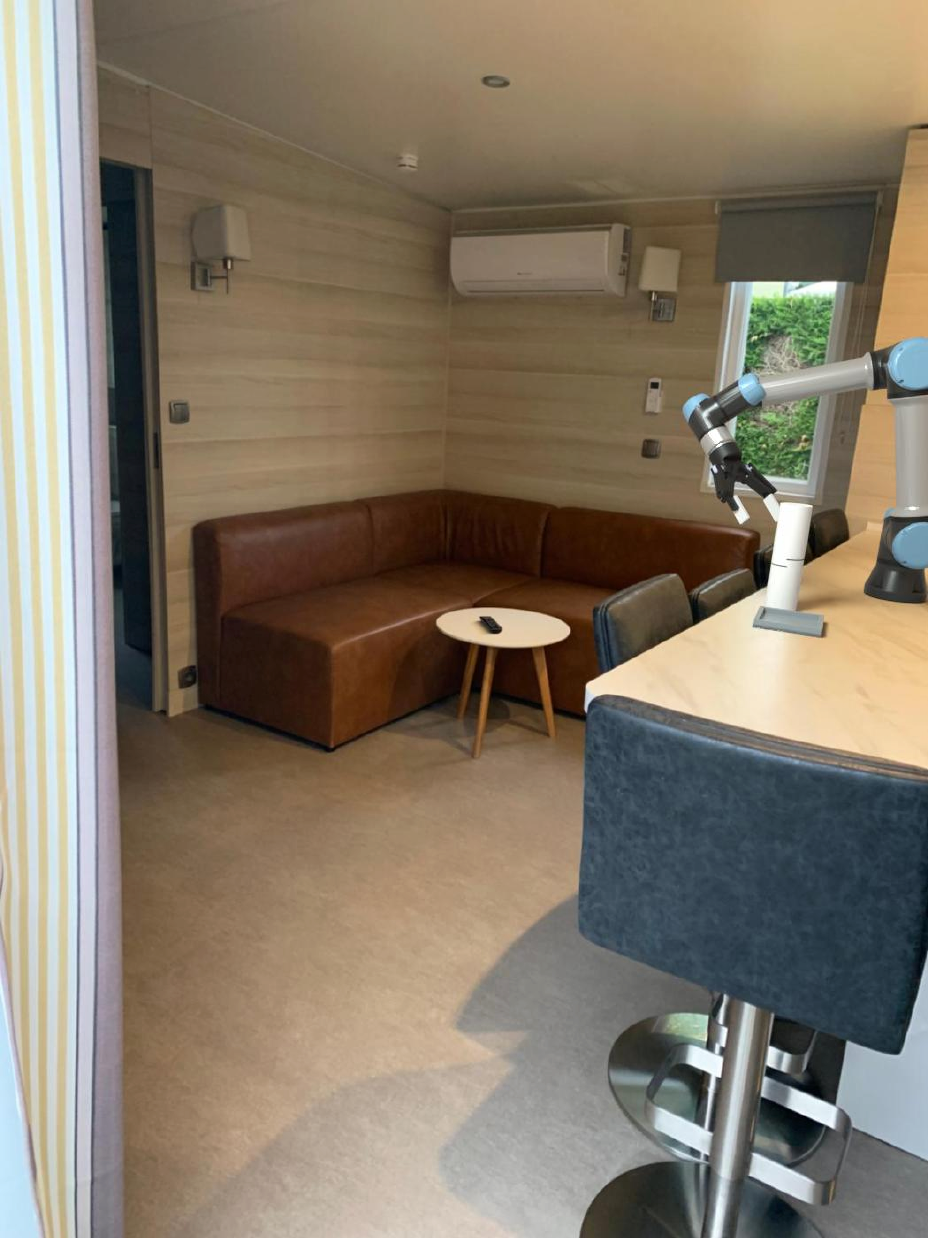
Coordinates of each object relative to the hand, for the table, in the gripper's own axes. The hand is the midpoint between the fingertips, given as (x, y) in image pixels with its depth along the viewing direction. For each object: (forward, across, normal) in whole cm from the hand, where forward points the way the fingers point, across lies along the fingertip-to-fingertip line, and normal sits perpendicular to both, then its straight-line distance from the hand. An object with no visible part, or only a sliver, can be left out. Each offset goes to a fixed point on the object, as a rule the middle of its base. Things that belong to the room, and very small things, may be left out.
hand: (763, 519), depth 213 cm
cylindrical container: (+20, -1, -9) cm, 22 cm away
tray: (+27, +11, -1) cm, 29 cm away
